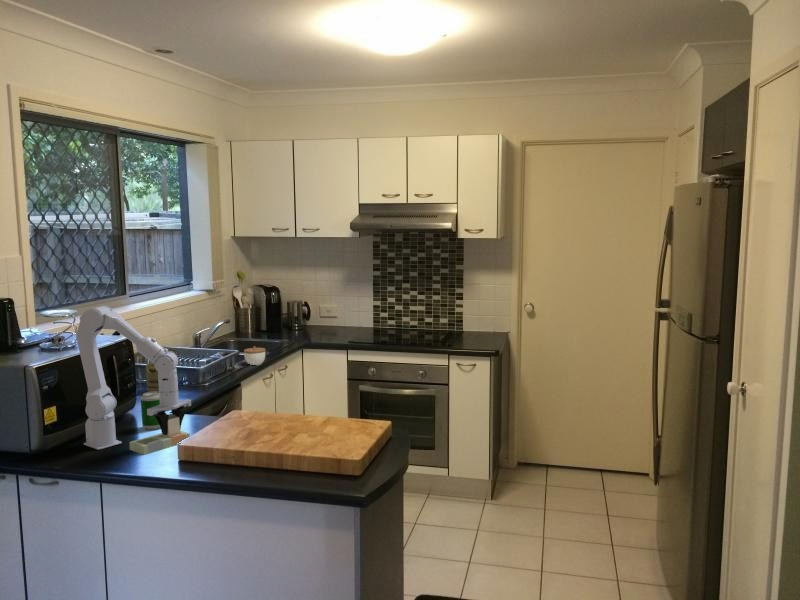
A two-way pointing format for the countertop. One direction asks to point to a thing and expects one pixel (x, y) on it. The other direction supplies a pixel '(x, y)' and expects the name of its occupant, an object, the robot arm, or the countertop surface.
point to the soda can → (148, 402)
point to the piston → (152, 378)
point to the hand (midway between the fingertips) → (171, 432)
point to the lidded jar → (254, 355)
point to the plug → (173, 426)
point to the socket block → (156, 442)
